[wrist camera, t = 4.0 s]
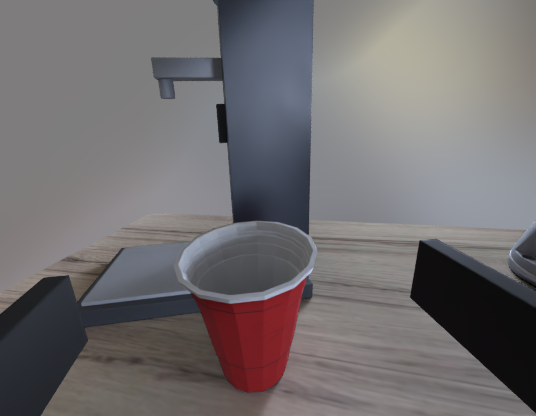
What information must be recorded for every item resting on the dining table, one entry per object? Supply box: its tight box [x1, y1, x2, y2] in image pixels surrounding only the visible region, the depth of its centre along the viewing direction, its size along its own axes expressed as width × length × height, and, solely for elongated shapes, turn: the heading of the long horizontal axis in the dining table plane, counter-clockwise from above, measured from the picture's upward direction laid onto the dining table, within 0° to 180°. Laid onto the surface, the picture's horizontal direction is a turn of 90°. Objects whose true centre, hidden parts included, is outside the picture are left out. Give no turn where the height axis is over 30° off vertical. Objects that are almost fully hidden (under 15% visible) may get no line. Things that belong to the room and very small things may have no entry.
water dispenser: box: [77, 0, 314, 327], centre depth 31 cm, size 28×16×47 cm, turn 99°
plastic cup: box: [173, 221, 318, 392], centre depth 22 cm, size 11×11×12 cm
